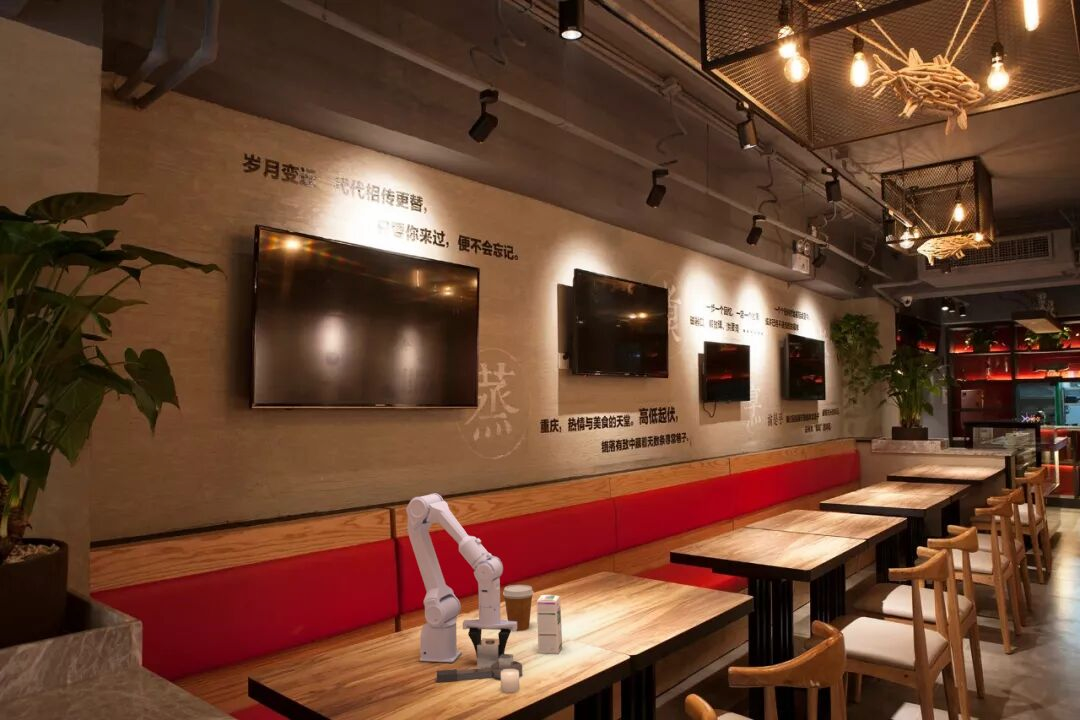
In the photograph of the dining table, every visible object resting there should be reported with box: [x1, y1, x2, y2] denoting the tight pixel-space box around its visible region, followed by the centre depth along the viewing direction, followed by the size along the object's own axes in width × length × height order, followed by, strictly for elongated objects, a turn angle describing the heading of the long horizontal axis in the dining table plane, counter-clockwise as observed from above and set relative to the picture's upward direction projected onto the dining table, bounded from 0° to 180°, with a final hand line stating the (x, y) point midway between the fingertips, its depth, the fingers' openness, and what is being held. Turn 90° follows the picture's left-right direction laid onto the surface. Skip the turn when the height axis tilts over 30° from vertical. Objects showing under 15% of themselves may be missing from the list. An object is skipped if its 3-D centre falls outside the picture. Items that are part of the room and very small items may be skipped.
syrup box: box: [536, 594, 563, 655], centre depth 195 cm, size 6×6×14 cm
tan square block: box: [476, 637, 500, 668], centre depth 185 cm, size 6×6×6 cm
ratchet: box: [436, 653, 523, 683], centre depth 177 cm, size 21×11×4 cm, turn 80°
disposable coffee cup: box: [502, 584, 534, 632], centre depth 216 cm, size 10×10×12 cm
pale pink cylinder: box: [500, 669, 520, 694], centre depth 168 cm, size 4×4×4 cm
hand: (490, 657), depth 185 cm, fingers closed on tan square block, 6 cm apart
